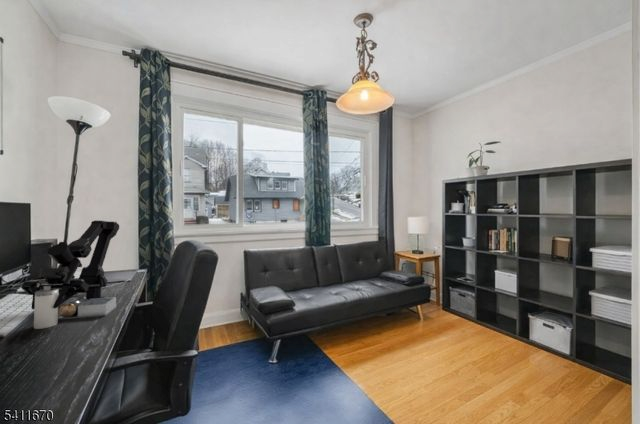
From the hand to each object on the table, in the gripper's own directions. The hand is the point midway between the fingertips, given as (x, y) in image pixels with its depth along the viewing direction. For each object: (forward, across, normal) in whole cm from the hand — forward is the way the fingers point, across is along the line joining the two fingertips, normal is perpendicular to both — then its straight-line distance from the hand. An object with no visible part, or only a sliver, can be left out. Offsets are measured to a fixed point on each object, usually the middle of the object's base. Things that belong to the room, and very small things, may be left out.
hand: (43, 308), depth 96 cm
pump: (+4, 0, +6) cm, 7 cm away
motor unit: (-4, +7, +13) cm, 15 cm away
